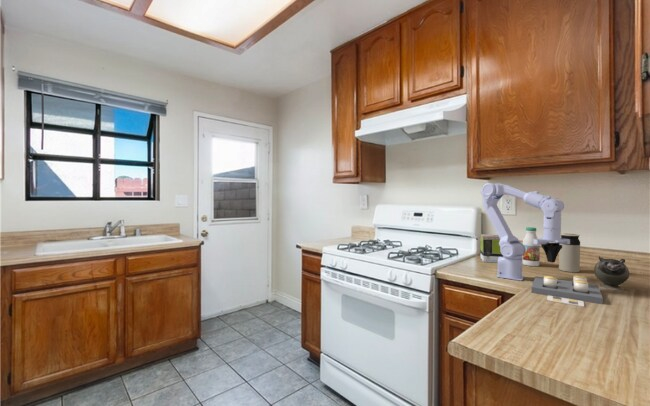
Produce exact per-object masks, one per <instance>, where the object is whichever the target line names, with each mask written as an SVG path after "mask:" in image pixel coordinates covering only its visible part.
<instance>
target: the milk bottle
mask: <svg viewBox="0 0 650 406" xmlns="http://www.w3.org/2000/svg"><path fill="white" fill-rule="evenodd" d="M525 233H526V234H525V236H524V238H523V239H522V242H521V243H522V244H523V245H524V246H525V249H526V251H525V254H524V255H522V266H523V265H524V266H528V267H540V253H541V252H540V250H541V249H540V247H541V244H539V245H537V244H533V240H534V239H539V238H538V236H537V228H536V227H529V226H528V227H525Z"/></svg>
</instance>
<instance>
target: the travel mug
mask: <svg viewBox="0 0 650 406" xmlns="http://www.w3.org/2000/svg"><path fill="white" fill-rule="evenodd" d="M579 238H580V234H577V233H566V232H565V233H562V232H561V239H570V244H559V245H562V249H561V250H560V251H559V253H558V270H560V271H562V272H567V273H578V272H580V269H581V268H580V266H581V265H580V263H581V240H580V239H579Z"/></svg>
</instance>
